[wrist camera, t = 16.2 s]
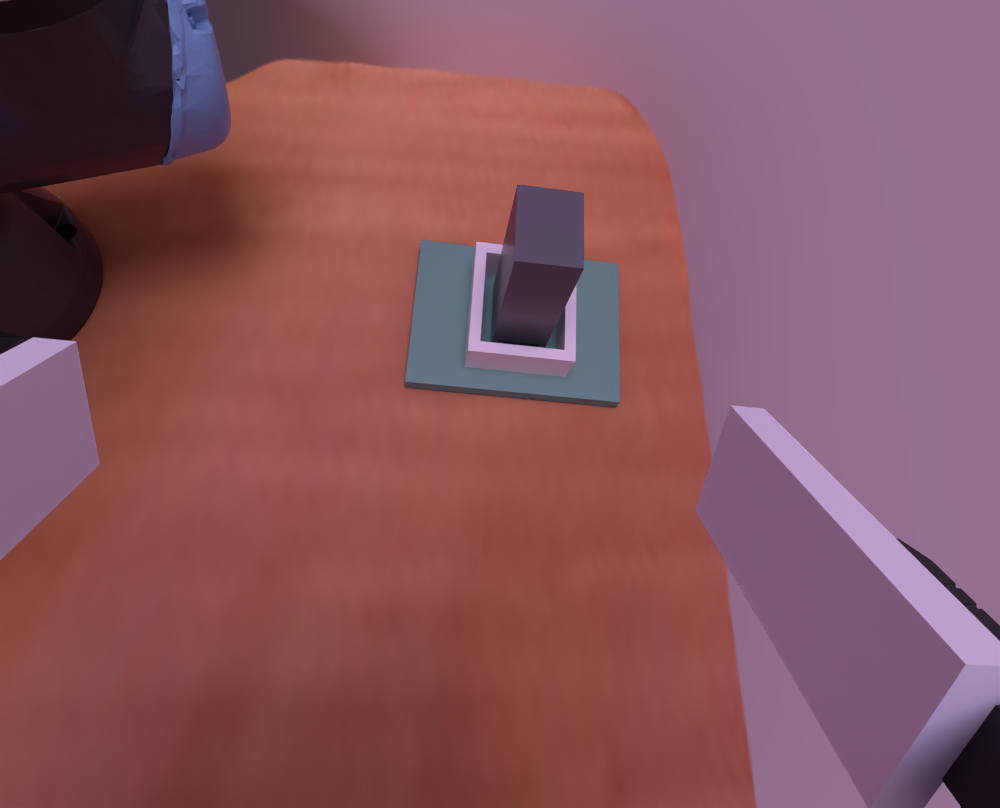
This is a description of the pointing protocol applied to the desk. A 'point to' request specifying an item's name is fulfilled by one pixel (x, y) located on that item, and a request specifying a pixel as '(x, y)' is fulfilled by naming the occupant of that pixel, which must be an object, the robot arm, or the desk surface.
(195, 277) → the desk surface
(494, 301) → the block
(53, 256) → the robot arm
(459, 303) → the board
